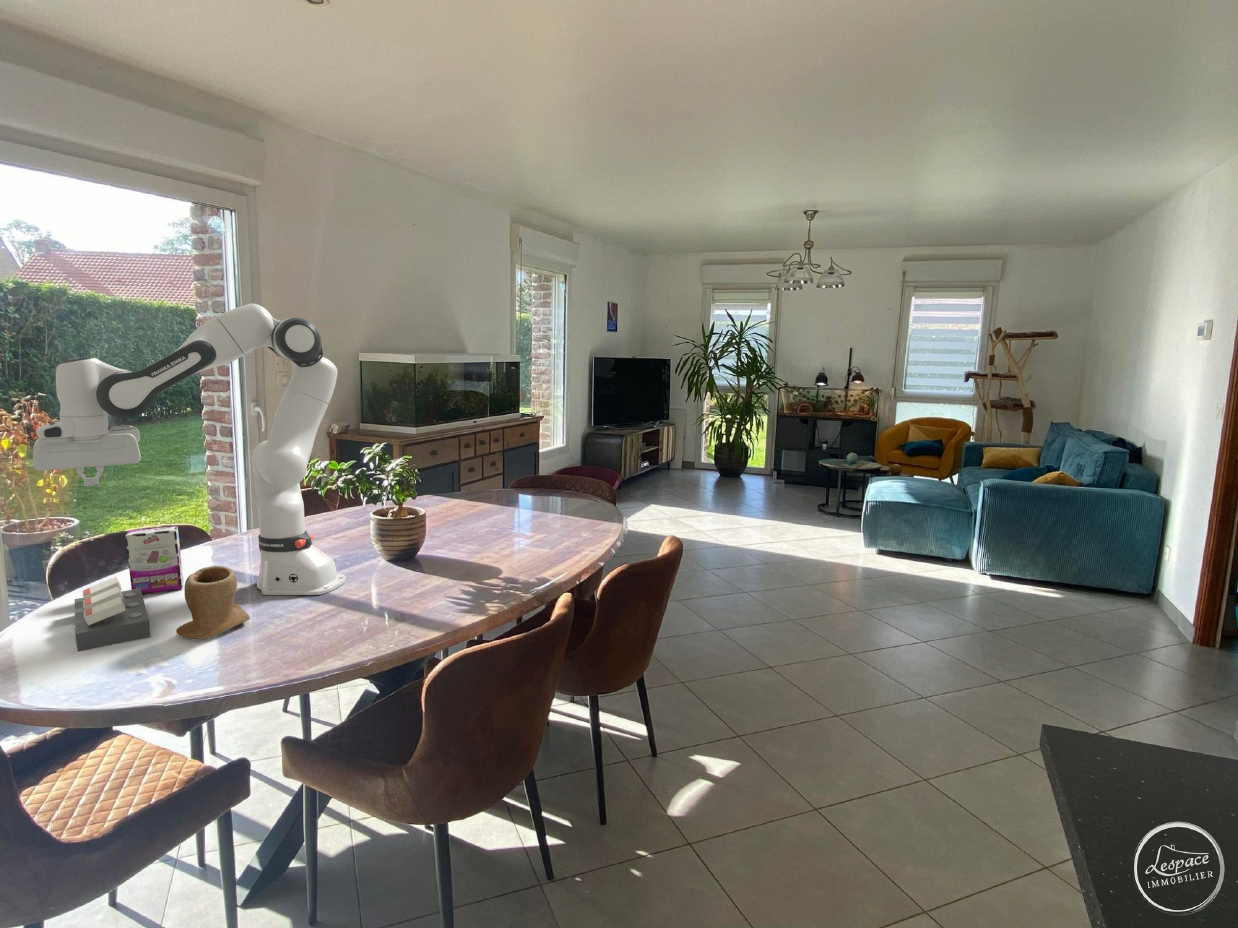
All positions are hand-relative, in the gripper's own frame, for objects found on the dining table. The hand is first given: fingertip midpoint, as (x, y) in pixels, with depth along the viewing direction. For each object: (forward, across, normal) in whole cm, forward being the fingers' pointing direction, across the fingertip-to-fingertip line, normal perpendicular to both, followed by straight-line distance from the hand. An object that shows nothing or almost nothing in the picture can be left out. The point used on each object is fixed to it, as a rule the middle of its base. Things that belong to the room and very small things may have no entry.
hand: (91, 485), depth 164 cm
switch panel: (+31, -1, +13) cm, 34 cm away
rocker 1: (+25, 0, +6) cm, 26 cm away
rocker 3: (+25, 0, +21) cm, 32 cm away
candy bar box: (+31, -11, -7) cm, 34 cm away
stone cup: (+31, -20, +29) cm, 47 cm away
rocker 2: (+25, 0, +13) cm, 28 cm away
